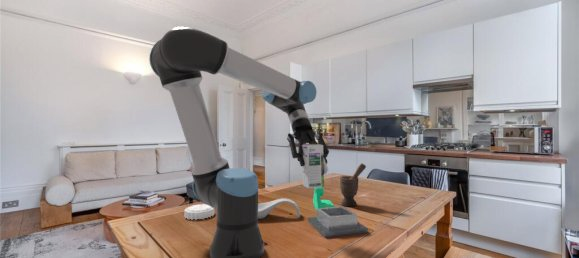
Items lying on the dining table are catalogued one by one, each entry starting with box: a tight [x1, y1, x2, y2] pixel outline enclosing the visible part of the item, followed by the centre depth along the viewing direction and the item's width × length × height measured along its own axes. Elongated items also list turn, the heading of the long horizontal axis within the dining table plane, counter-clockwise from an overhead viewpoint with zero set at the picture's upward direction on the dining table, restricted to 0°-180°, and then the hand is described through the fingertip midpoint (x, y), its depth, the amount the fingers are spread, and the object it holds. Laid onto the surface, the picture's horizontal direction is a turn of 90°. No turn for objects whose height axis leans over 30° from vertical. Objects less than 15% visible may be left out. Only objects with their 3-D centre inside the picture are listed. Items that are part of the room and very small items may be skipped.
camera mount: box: [312, 188, 336, 212], centre depth 115 cm, size 12×8×10 cm, turn 5°
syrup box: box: [302, 143, 325, 190], centre depth 87 cm, size 6×6×14 cm
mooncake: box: [183, 203, 216, 221], centre depth 107 cm, size 12×12×4 cm
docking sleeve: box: [307, 205, 369, 239], centre depth 93 cm, size 16×16×6 cm
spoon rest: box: [258, 197, 301, 220], centre depth 105 cm, size 24×12×7 cm, turn 92°
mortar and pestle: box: [339, 163, 367, 207], centre depth 122 cm, size 12×9×20 cm
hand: (317, 172), depth 84 cm, fingers closed on syrup box, 6 cm apart
